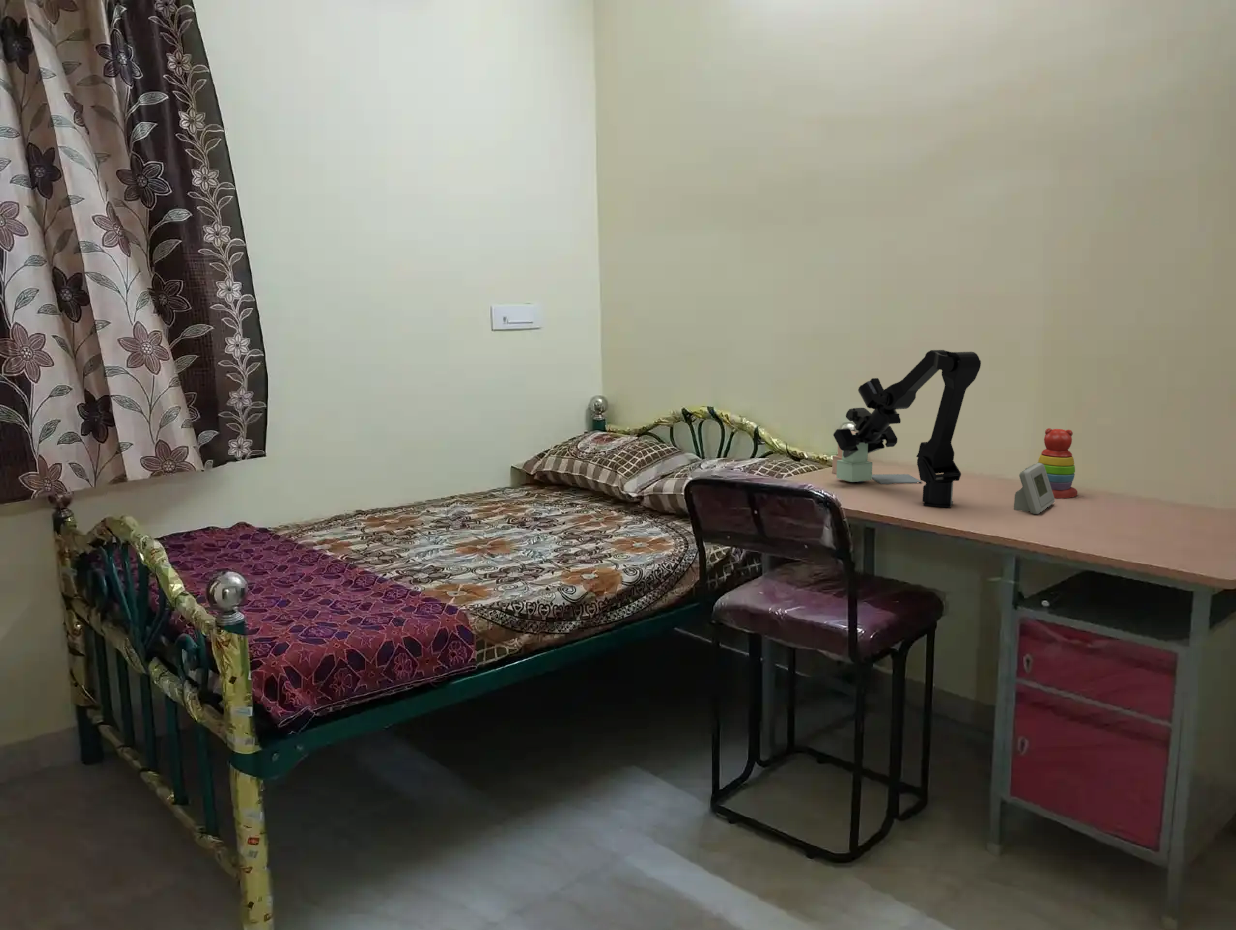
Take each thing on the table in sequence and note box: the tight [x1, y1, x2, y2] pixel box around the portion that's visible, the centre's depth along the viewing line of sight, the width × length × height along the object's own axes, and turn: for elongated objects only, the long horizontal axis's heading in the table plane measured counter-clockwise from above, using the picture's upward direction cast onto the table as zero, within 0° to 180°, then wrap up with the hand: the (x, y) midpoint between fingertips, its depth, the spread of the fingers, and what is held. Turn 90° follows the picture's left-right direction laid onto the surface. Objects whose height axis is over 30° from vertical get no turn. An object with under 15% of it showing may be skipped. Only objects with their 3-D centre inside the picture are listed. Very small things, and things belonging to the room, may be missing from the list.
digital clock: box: [1013, 462, 1056, 515], centre depth 231 cm, size 16×9×11 cm, turn 132°
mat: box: [872, 473, 923, 485], centre depth 270 cm, size 12×12×1 cm
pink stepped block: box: [831, 430, 857, 475], centre depth 279 cm, size 7×7×12 cm
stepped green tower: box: [836, 434, 873, 483], centre depth 266 cm, size 7×7×12 cm
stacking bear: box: [1037, 428, 1078, 499], centre depth 247 cm, size 11×10×18 cm
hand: (851, 455), depth 267 cm, fingers closed on stepped green tower, 5 cm apart
